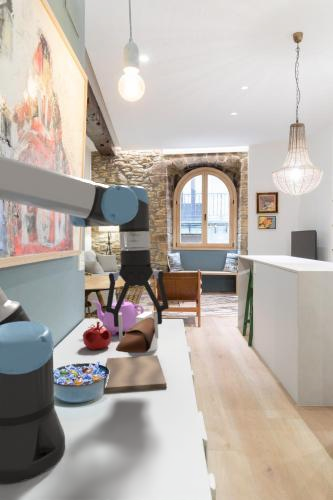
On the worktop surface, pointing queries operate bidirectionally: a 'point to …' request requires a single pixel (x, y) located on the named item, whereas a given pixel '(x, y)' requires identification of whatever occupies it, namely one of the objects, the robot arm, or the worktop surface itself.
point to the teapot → (127, 316)
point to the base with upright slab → (155, 340)
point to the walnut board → (135, 373)
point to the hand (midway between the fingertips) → (138, 337)
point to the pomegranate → (96, 337)
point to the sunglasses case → (138, 337)
